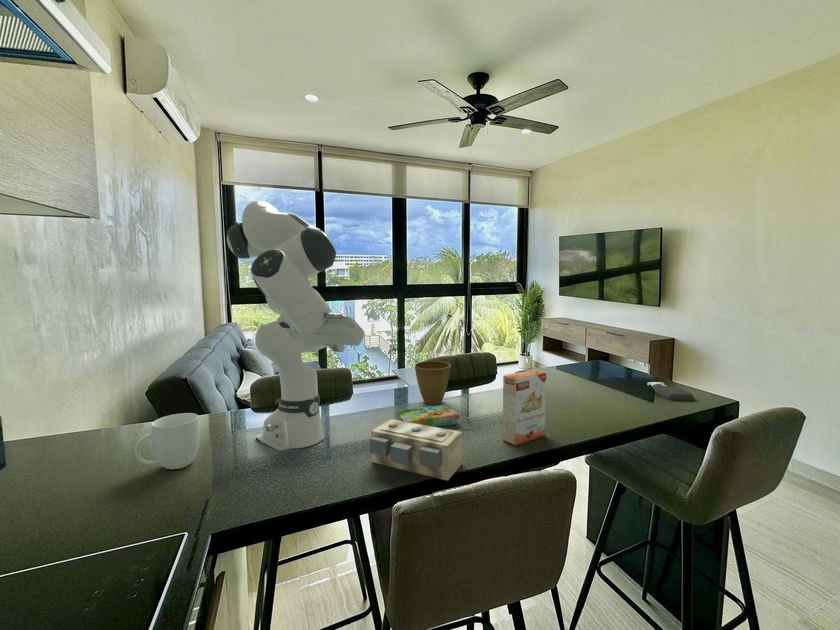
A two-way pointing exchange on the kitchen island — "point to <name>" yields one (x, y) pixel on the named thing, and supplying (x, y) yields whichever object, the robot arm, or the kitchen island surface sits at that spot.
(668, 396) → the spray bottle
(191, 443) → the mug
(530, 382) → the cracker box
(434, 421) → the puzzle game
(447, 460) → the console
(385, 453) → the button left
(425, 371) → the plant pot
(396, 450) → the button middle
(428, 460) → the button right
